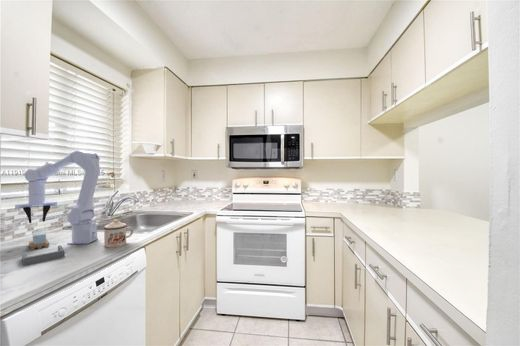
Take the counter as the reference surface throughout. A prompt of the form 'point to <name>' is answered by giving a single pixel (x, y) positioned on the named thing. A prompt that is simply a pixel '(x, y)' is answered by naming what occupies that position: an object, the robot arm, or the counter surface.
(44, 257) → the dock
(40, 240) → the pale blue cube
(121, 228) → the teacup with lid
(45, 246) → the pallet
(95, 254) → the counter surface
